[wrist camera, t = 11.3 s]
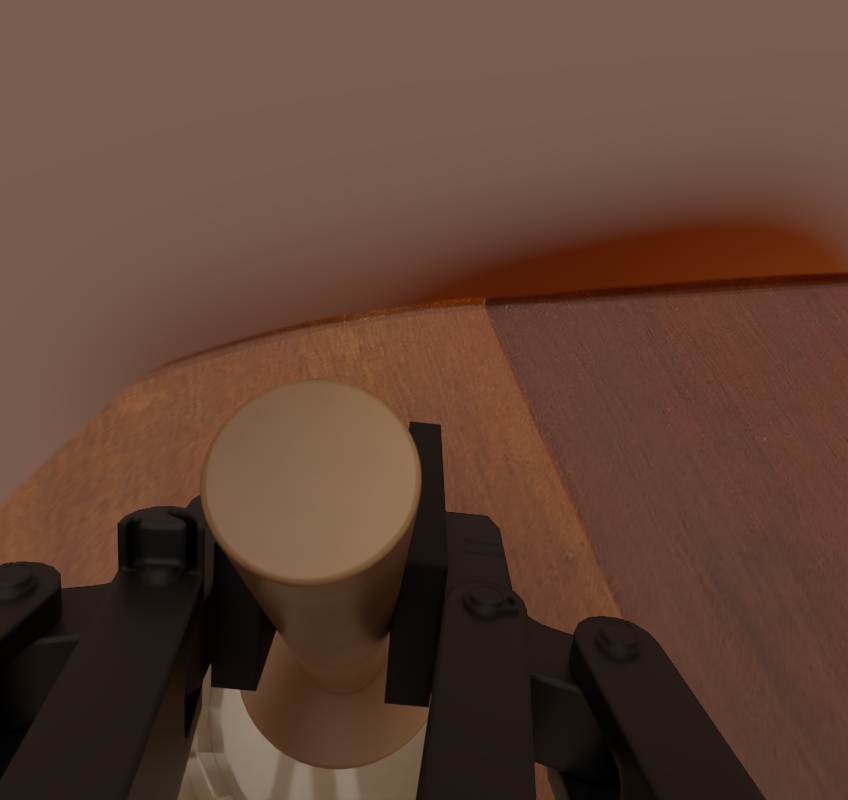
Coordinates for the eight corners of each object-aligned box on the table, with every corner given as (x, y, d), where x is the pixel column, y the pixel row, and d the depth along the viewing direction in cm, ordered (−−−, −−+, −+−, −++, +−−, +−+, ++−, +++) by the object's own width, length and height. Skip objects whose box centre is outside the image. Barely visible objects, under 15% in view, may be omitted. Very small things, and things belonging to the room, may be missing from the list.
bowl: (503, 558, 33) (529, 519, 27) (493, 900, 27) (525, 936, 21) (220, 530, 32) (191, 485, 27) (145, 870, 26) (89, 900, 21)
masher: (449, 568, 21) (583, 279, 8) (435, 777, 19) (598, 825, 6) (264, 550, 21) (110, 224, 8) (225, 758, 18) (-93, 764, 6)
